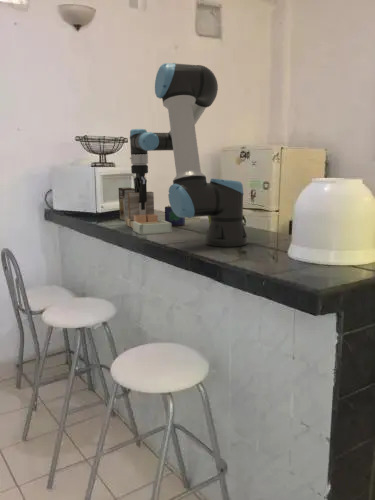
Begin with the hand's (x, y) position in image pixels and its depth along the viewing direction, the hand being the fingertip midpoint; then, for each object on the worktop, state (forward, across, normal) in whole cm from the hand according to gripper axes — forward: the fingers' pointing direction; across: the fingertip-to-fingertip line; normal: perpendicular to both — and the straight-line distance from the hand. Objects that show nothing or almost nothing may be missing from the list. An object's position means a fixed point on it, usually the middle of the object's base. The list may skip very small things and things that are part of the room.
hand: (141, 216), depth 212 cm
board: (+5, +1, 0) cm, 5 cm away
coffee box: (+5, -25, 0) cm, 25 cm away
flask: (+5, +5, +14) cm, 16 cm away
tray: (+5, +17, 0) cm, 18 cm away
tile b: (+2, +7, -3) cm, 8 cm away
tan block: (+1, 0, 0) cm, 1 cm away
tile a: (+2, +7, +3) cm, 8 cm away
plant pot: (+5, +28, +26) cm, 38 cm away
